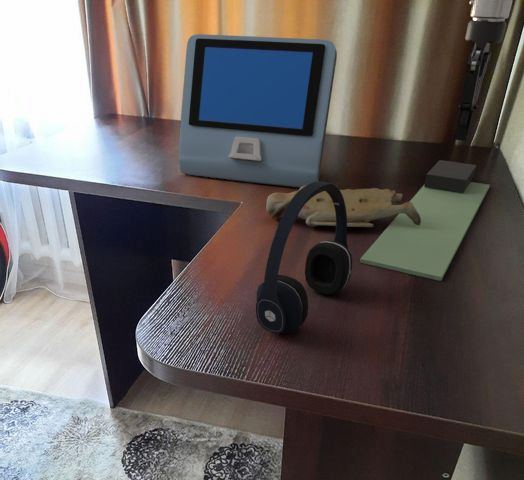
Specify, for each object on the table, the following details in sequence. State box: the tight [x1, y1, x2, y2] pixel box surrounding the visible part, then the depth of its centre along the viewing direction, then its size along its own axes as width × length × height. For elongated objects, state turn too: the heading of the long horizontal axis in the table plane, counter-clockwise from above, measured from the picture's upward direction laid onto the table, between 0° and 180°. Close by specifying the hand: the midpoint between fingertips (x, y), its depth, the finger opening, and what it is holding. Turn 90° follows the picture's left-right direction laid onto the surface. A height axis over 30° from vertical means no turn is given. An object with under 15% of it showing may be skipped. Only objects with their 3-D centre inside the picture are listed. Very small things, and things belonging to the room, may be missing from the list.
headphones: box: [255, 180, 353, 335], centre depth 70 cm, size 20×7×18 cm, turn 146°
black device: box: [423, 159, 477, 193], centre depth 122 cm, size 9×3×14 cm
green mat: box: [359, 181, 491, 282], centre depth 105 cm, size 14×55×1 cm, turn 152°
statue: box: [265, 184, 421, 228], centre depth 100 cm, size 10×7×30 cm
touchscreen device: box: [178, 33, 338, 189], centre depth 121 cm, size 35×20×30 cm, turn 73°
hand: (460, 139), depth 119 cm, fingers closed
